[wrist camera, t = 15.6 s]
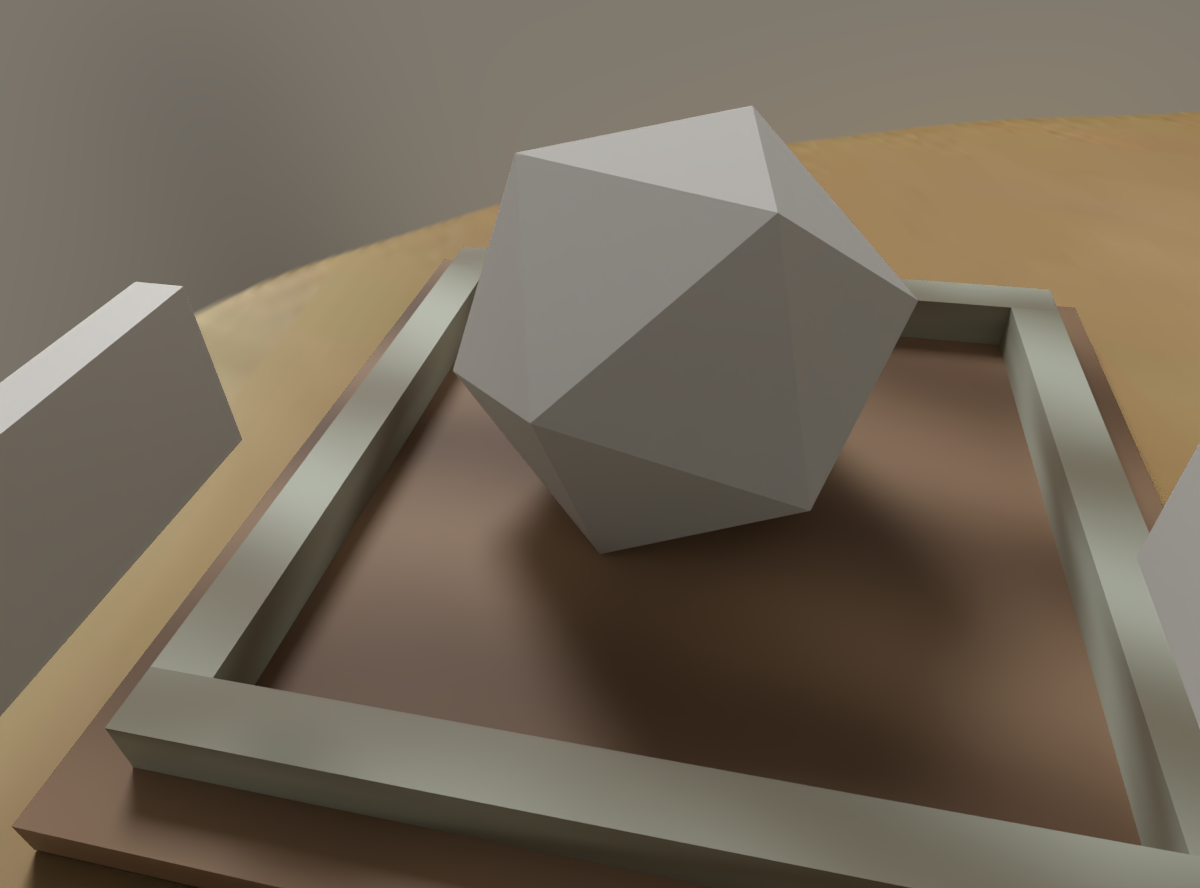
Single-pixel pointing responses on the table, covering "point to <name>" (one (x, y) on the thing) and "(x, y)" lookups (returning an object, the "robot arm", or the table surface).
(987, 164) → the table surface
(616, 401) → the die
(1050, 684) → the dice tray
